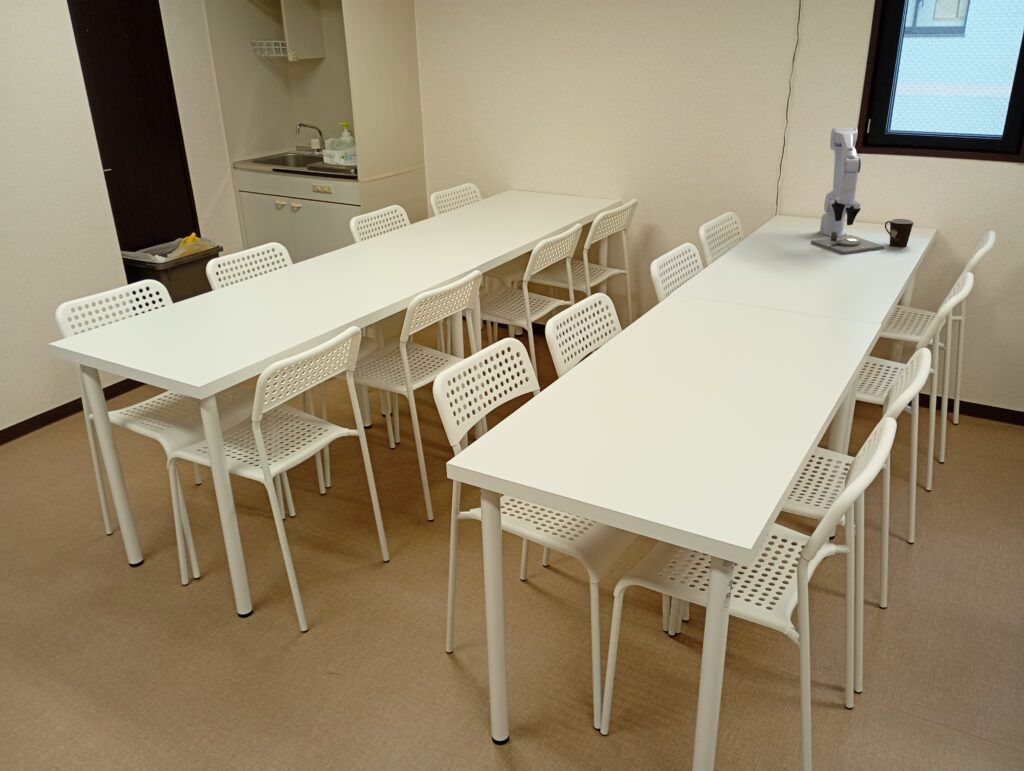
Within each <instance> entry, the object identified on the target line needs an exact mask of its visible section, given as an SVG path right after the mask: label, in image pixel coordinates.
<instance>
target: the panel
mask: <svg viewBox="0 0 1024 771" xmlns="http://www.w3.org/2000/svg"><path fill="white" fill-rule="evenodd" d="M849 236H853V235H851V234H849ZM830 240H831V237H827V238H820V239H819V238H818V239H813V240H810V244H811V245H814V246H817V247H820V248H823V249H826V250H829V251H831V252H834V253H837V254H840V255H842V256H844V255H851V254H859V253H864V252H865V253H866V252H871V251H873V252H874V251H879V250H884V249H885V245H884V244H883V245H882V244H880V243H876V242H873V241H870V240H869V239H868V240H867V239H864V238H861V243H860V245H857V246H842V245H838V244H834V245H833V244H830Z"/></svg>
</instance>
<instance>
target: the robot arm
mask: <svg viewBox="0 0 1024 771" xmlns="http://www.w3.org/2000/svg"><path fill="white" fill-rule="evenodd" d="M857 140H858V128H857V127H839V128H838V127H833V128H832V129H831V131H830V142H829V147H830V150H831V151H834V166H833V180H832V184H833V185H832V190H831V191H830V192H827V194H826V195H825V196H824V197H825V199H824V204H823V205H824V206H823V209H824V213H823V214H822V215H821V219H820V228H819V230H818V231H817V232H818V233H819V234H822V235H825V236H829V237H831V233H832V232H838V235H837V236H842V235H848V234H847V232H844V228H845V226H844V225H845V218H846V225H847V226H853V224H854V222H855V220H856V217H857V216H858V214H859V213H860V211H861V203H860V202H858V201H857V200H855V199H856V193H857V192H856V190H857V183H858V175H859V173H860V171H861V167H862V162H861V161H862V160H861V157H858V153H857V149H856V148H855V147H854V146H855V144H856V142H857Z"/></svg>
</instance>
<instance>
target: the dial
mask: <svg viewBox="0 0 1024 771" xmlns="http://www.w3.org/2000/svg"><path fill="white" fill-rule="evenodd" d="M837 235H838V232H832V233H831V236H830V238H831V240H830V244H833V245H834V244H838V245H842V246H857V245H860V243H861V239H862V238H861V237H860V236H855V235H852V236H849V235H850V234H849V235H848V234H847V235H842V236H837Z"/></svg>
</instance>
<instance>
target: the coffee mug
mask: <svg viewBox="0 0 1024 771" xmlns="http://www.w3.org/2000/svg"><path fill="white" fill-rule="evenodd" d="M888 223H889V226H890V227H889V229H888V227H887V225H888ZM914 223H915V221H914V220H911V219H907V218H892V219H890V220H889V221H886V222H885V223H884V229H885V231H886V232H887V234H888V235H889V246H890V247H893V248H906V247H907V246H908V243H909V239H910V237H911V231H912V230H913V229H912V228H913V225H914Z"/></svg>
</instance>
